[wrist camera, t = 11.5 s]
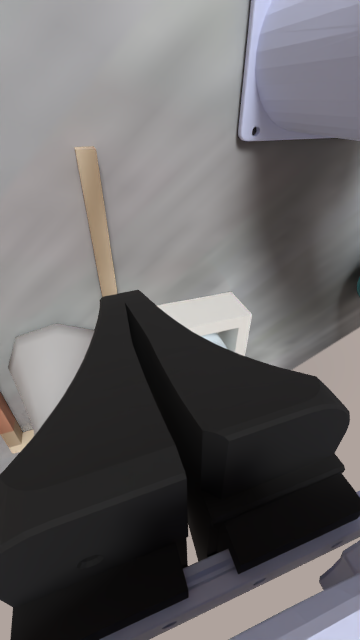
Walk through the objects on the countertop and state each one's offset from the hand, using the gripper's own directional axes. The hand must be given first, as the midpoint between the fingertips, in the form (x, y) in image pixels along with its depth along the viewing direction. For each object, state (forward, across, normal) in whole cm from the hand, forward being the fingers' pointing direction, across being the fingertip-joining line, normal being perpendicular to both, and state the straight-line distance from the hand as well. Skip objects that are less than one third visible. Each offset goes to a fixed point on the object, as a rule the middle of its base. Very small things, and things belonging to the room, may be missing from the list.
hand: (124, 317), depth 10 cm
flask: (+11, +5, +10) cm, 15 cm away
